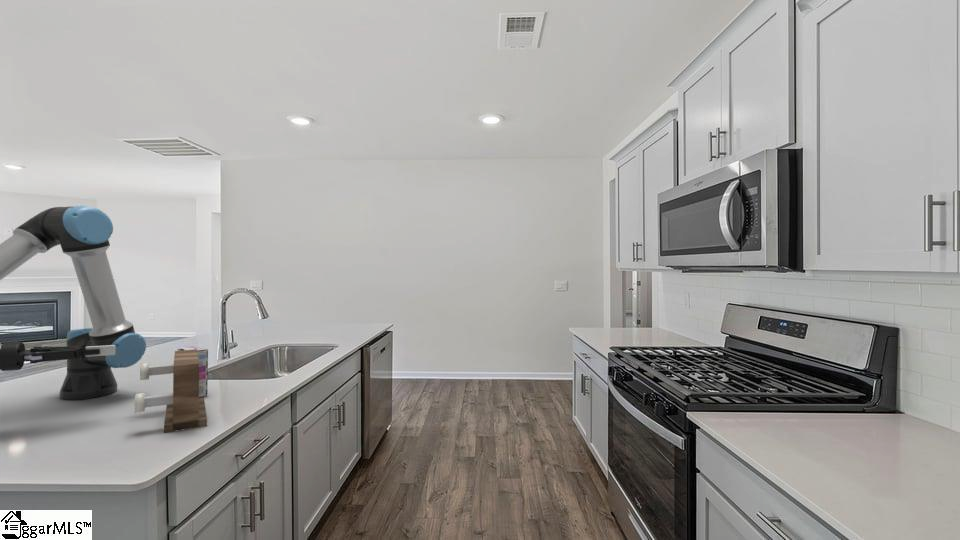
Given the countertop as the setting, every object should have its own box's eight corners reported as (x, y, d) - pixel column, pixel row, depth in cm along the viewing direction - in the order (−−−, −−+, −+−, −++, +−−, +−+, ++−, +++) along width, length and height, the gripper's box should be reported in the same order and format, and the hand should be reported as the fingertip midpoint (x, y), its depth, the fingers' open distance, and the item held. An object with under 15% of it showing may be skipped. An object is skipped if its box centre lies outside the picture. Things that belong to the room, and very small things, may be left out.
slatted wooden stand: (166, 408, 143) (167, 351, 142) (203, 403, 148) (204, 348, 148) (164, 432, 123) (164, 366, 122) (207, 425, 128) (207, 362, 128)
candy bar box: (208, 396, 156) (208, 349, 156) (193, 400, 151) (193, 351, 151) (191, 391, 162) (192, 345, 161) (176, 394, 157) (176, 347, 157)
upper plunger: (141, 378, 139) (141, 361, 138) (186, 373, 145) (186, 358, 145) (139, 381, 134) (140, 365, 134) (186, 377, 141) (186, 361, 141)
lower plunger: (136, 409, 124) (136, 391, 124) (186, 403, 131) (186, 386, 131) (134, 415, 120) (134, 396, 120) (186, 408, 127) (186, 390, 126)
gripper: (9, 366, 125) (117, 358, 138) (-8, 376, 114) (111, 366, 127) (9, 339, 125) (118, 334, 138) (-8, 346, 114) (112, 340, 127)
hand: (114, 349), depth 133 cm, fingers closed
